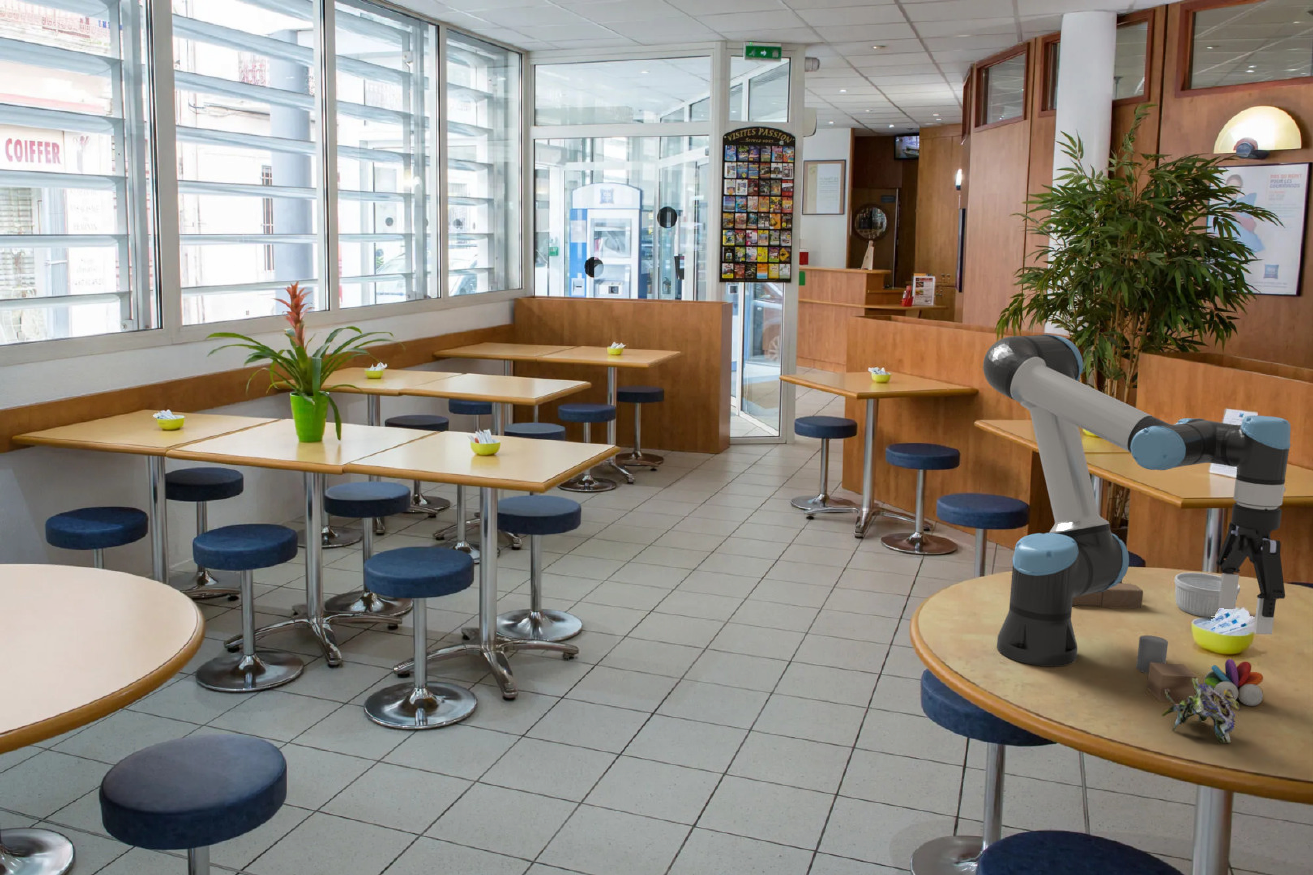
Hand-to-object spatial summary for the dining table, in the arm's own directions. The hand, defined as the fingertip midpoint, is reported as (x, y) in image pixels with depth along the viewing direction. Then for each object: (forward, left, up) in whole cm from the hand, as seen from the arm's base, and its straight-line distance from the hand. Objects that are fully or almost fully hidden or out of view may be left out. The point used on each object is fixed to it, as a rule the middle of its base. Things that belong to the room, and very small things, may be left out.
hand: (1244, 620), depth 190 cm
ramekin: (+16, +50, -15) cm, 55 cm away
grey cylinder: (-10, +12, -15) cm, 22 cm away
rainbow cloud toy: (0, 0, -15) cm, 15 cm away
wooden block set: (-7, +58, -15) cm, 60 cm away
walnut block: (-11, 0, -15) cm, 19 cm away
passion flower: (-13, -16, -15) cm, 26 cm away
